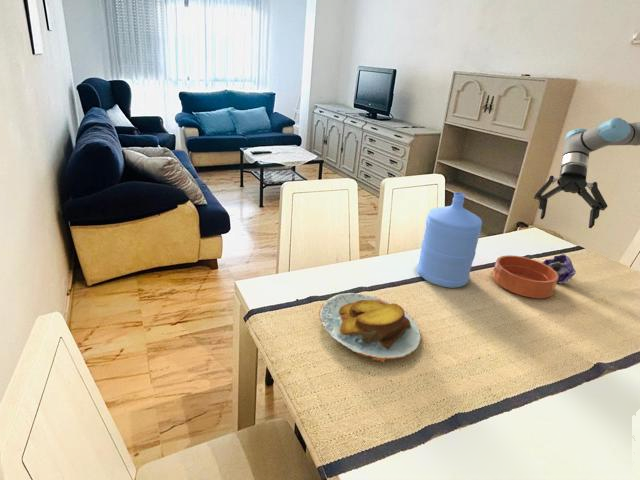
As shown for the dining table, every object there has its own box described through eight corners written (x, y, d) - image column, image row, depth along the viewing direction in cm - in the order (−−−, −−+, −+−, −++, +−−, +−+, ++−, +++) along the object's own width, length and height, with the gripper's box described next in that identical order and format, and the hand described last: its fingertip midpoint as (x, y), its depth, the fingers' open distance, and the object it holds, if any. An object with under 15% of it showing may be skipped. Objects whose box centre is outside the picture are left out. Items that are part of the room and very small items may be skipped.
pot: (555, 283, 123) (560, 267, 121) (549, 306, 111) (555, 288, 109) (497, 266, 132) (502, 250, 130) (486, 285, 120) (491, 268, 118)
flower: (553, 249, 131) (558, 247, 122) (578, 267, 127) (584, 266, 119) (533, 269, 133) (536, 268, 124) (556, 287, 129) (561, 288, 120)
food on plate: (338, 291, 114) (340, 271, 111) (426, 318, 103) (430, 298, 101) (302, 341, 93) (304, 318, 90) (408, 382, 82) (413, 357, 80)
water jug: (464, 294, 115) (486, 207, 105) (411, 278, 122) (426, 195, 112) (471, 273, 127) (491, 193, 117) (422, 259, 135) (437, 183, 125)
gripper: (613, 180, 133) (608, 235, 126) (530, 168, 144) (521, 218, 137) (623, 168, 127) (618, 225, 120) (535, 157, 138) (525, 209, 131)
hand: (566, 221), depth 129 cm, fingers open, 13 cm apart
